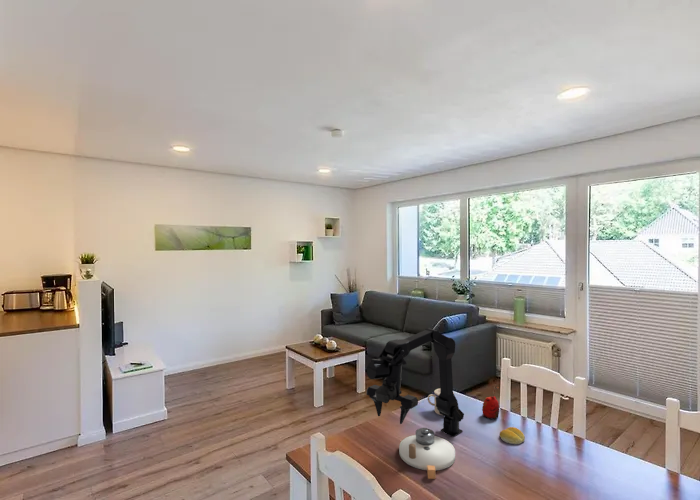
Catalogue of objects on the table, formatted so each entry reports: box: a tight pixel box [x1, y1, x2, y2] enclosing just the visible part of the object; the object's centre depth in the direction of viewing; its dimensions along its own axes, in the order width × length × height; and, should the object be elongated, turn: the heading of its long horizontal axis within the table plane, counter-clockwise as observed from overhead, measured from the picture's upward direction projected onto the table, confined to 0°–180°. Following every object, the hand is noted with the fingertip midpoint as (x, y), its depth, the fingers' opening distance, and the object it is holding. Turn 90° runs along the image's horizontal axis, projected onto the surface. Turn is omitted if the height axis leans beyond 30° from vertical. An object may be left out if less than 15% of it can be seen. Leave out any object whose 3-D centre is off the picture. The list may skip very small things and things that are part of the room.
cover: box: [415, 427, 435, 445], centre depth 142 cm, size 7×7×4 cm
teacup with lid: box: [427, 388, 455, 416], centre depth 171 cm, size 12×9×12 cm
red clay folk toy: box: [481, 384, 500, 420], centre depth 165 cm, size 8×7×15 cm
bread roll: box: [499, 426, 526, 445], centre depth 146 cm, size 8×9×4 cm
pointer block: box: [426, 465, 437, 480], centre depth 124 cm, size 2×2×3 cm
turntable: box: [398, 434, 456, 471], centre depth 136 cm, size 20×20×6 cm
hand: (389, 419), depth 136 cm, fingers open, 9 cm apart
